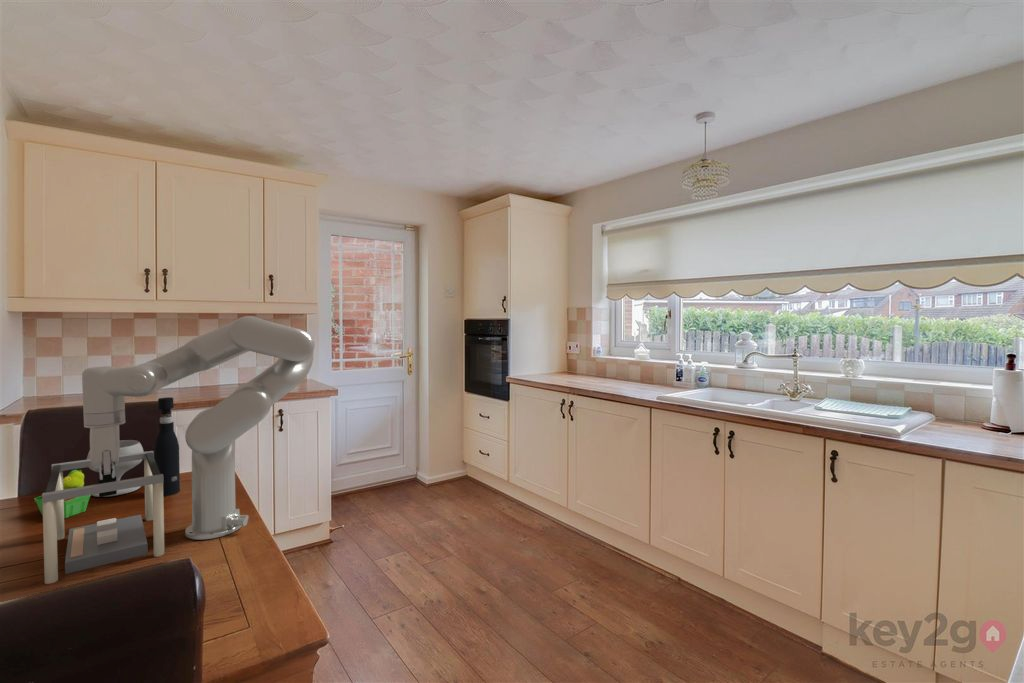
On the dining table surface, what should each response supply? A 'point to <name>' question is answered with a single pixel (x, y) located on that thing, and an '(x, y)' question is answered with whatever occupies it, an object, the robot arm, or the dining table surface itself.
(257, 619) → the dining table surface
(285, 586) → the dining table surface
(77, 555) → the four-post gantry frame
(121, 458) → the rectangular top frame
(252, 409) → the robot arm
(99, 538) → the pale grey block
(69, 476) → the fruit basket
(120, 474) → the chalice
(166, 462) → the dark water bottle
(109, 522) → the beige small block
